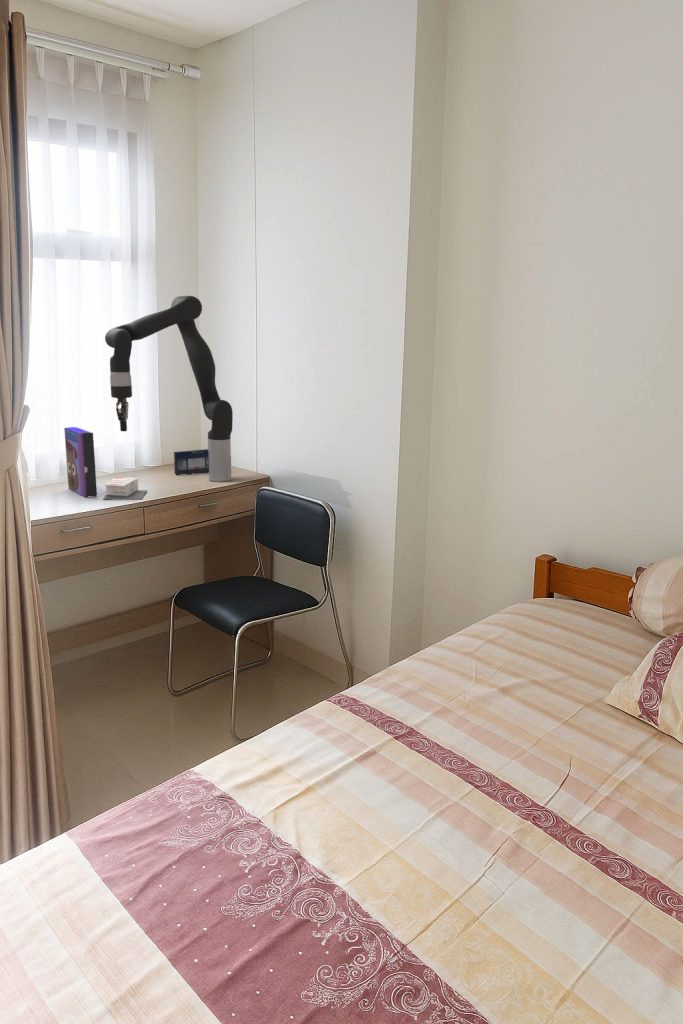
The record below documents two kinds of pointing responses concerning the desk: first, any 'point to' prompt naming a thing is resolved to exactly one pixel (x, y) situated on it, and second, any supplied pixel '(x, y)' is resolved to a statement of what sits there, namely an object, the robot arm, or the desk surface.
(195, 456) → the vhs cassette tape
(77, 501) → the desk surface
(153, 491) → the desk surface
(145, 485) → the desk surface
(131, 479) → the ink cartridge box
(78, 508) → the desk surface
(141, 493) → the mat
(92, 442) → the cereal box
